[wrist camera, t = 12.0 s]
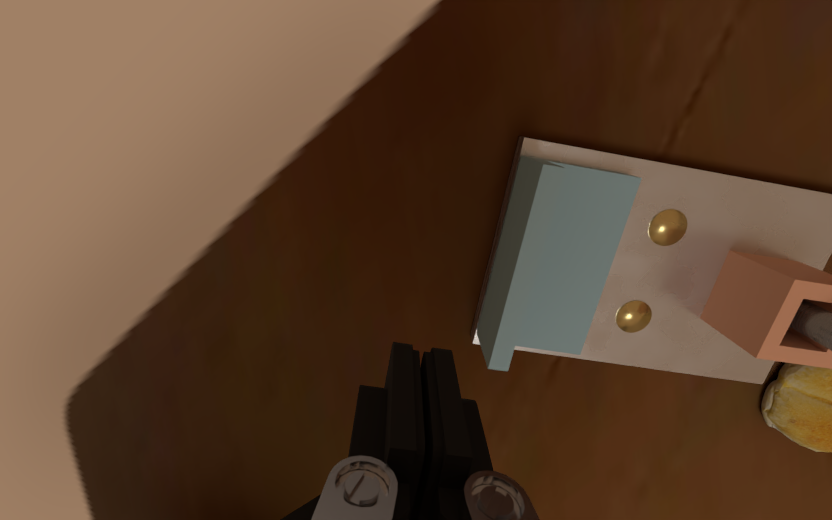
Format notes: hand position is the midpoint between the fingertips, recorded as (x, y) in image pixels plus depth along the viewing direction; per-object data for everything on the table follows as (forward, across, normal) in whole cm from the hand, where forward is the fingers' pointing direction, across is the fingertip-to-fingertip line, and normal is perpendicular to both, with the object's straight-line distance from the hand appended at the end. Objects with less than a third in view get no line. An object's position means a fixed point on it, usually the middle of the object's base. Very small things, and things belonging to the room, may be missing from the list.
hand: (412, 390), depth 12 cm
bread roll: (+17, -34, +7) cm, 39 cm away
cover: (+15, -9, 0) cm, 18 cm away
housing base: (+17, -17, 0) cm, 24 cm away
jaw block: (+16, -23, 0) cm, 28 cm away
